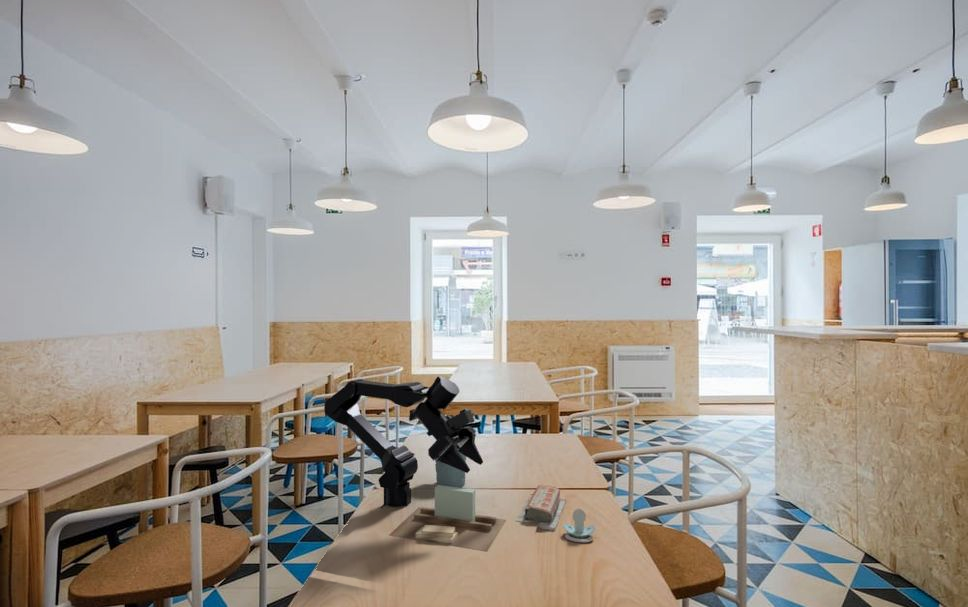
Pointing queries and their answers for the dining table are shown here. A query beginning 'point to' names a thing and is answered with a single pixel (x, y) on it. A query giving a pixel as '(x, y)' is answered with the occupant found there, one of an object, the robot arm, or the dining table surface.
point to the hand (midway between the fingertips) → (475, 467)
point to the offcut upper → (438, 531)
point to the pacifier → (579, 528)
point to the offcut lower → (436, 537)
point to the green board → (455, 503)
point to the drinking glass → (450, 474)
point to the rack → (469, 532)
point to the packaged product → (543, 507)
